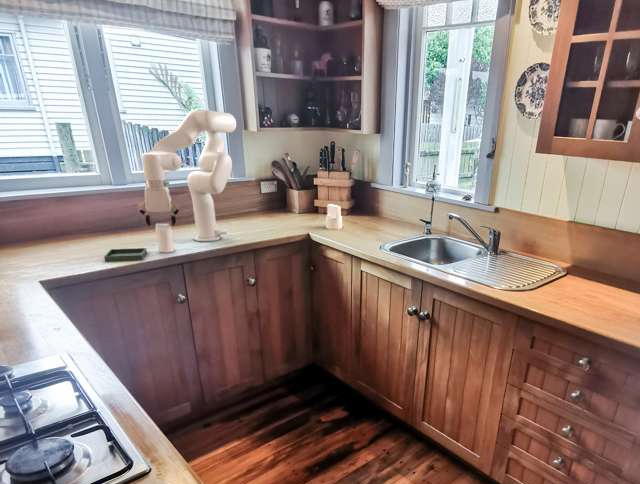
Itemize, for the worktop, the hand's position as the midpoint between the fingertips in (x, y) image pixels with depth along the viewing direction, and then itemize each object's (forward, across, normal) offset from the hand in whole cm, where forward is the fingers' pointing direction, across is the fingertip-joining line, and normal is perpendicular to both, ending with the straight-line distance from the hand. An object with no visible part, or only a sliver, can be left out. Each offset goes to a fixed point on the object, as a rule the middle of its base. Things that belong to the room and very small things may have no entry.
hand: (161, 225), depth 202 cm
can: (+12, 0, -1) cm, 12 cm away
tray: (+12, +14, +6) cm, 20 cm away
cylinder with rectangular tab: (+10, -82, -37) cm, 91 cm away
